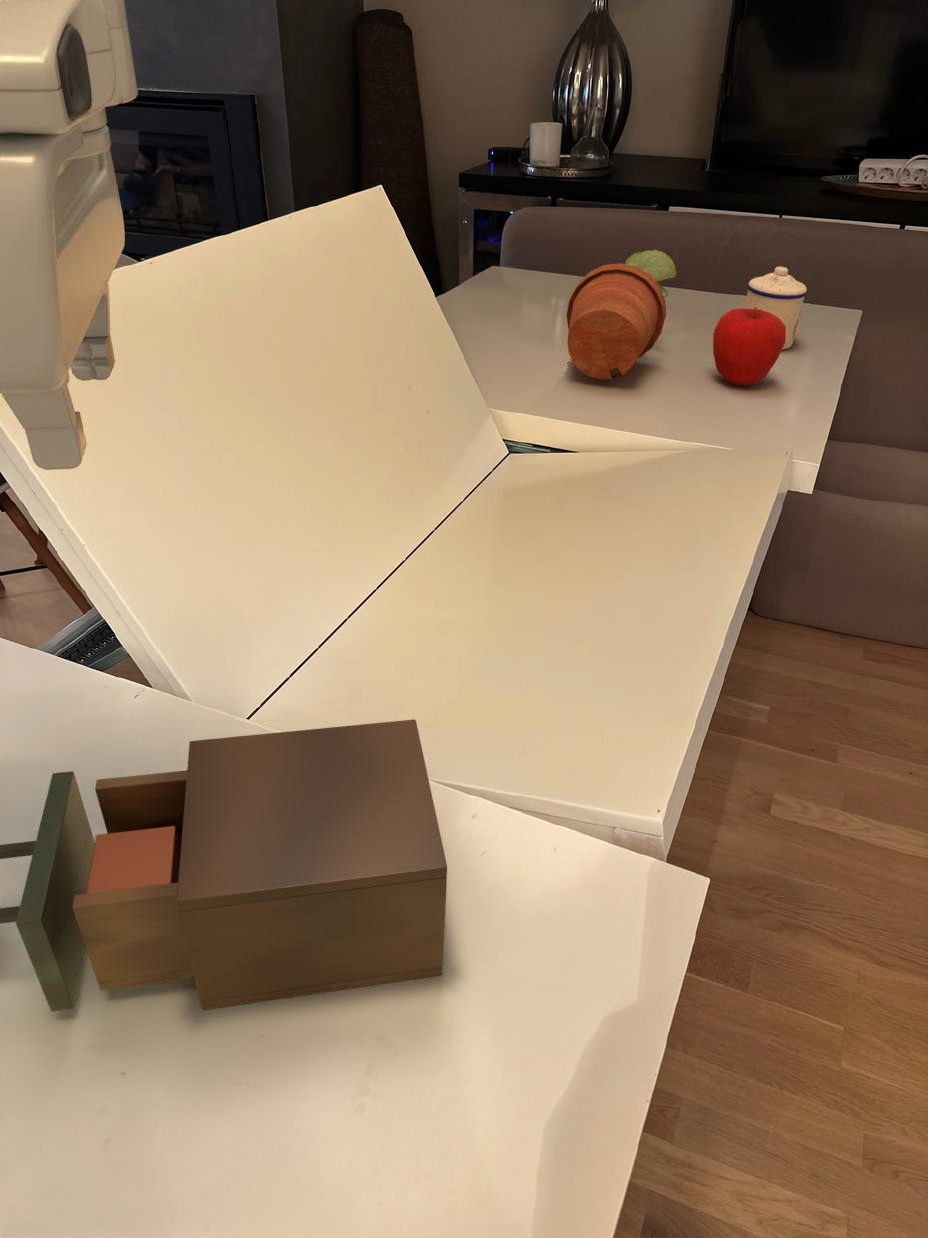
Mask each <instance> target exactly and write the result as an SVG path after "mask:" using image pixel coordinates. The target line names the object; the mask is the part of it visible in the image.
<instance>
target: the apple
mask: <svg viewBox="0 0 928 1238" xmlns="http://www.w3.org/2000/svg"><path fill="white" fill-rule="evenodd" d="M712 334H713V335H712V341H713V342H712V354H713V358H714V364H715V367H716V368H715V369H716V371H717V372H718V373H719V374H720V375H721V376H722V377H723V378H724V379H725V381H727V382H728V383H730V384H732V385H736V386H743V387H745V386H752V385H755V384H757V383H758V382H761V381H763V380H764V379H765V378H766V377H767V375H768V374H769V372H770V371H771V369H772V368H773V367H774V365H775V364H776V363H777V361H778V359H779V357H780V355H781V353H782V351H783V350H782V349H783V346H784V344H785V340H786V326H785V325H784V324H783V322H782V321H781V320H780V319H779V318H778V317H776V316H775V315H773V314H771V313H769V312H766V311H763V310H758V309H756V307H755V309H744V307H743V308H733V309H730V310H729V311H727V312H726V313H724V314H723V315H722V316H720V317H719V320H718V322H717V324H716V326H715V328H714V330H713V333H712Z"/></svg>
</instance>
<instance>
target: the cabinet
mask: <svg viewBox="0 0 928 1238" xmlns="http://www.w3.org/2000/svg"><path fill="white" fill-rule="evenodd" d="M188 743H189V745H188V754H187V755H188V756H187V768H186V770H187V780H186V792H185V804H184V817H183V829H182V841H181V854H180V866H179V878H178V891H177V905H178V909H179V914H180V918H181V922H182V927H183V931H184V935H185V940H186V944H187V948H188V953H189V957H190V961H191V966H192V970H193V974H194V977H193V979H194V983H195V986H196V992H197V995H198V1001H199V1003H200V1008H201V1010H208V1009H209V1010H211V1009H215V1008H223V1007H230V1006H238V1005H244V1004H250V1003H251V1004H252V1003H257V1002H264V1001H271V1000H276V999H277V1000H278V999H285V998H291V997H298V996H305V995H306V996H307V995H313V994H320V993H325V992H332V991H339V990H344V989H345V990H346V989H353V988H359V987H366V986H367V987H368V986H372V985H373V986H374V985H381V984H386V983H393V982H400V981H407V980H414V979H423V978H428V977H435V976H441V975H443V972H444V956H445V955H444V954H445V953H444V950H445V934H446V933H445V931H446V930H445V929H446V908H447V907H446V905H447V883H448V882H447V881H448V879H447V878H448V865H447V860H446V855H445V850H444V846H443V841H442V840H443V839H442V836H441V831H440V826H439V821H438V818H437V813H436V808H435V802H434V799H433V793H432V789H431V784H430V779H429V775H428V770H427V766H426V761H425V757H424V751H423V746H422V742H421V737H420V732H419V728H418V723H417V719H415V718H414V719H403V720H394V721H383V722H382V721H381V722H373V723H363V724H353V725H352V724H351V725H343V726H342V725H341V726H332V727H322V728H321V727H319V728H310V729H300V730H291V731H290V730H289V731H281V732H279V731H278V732H270V733H260V734H259V733H258V734H249V735H240V736H239V735H238V736H229V737H219V738H208V739H198V740H197V739H196V740H190V741H189V742H188Z"/></svg>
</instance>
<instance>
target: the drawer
mask: <svg viewBox="0 0 928 1238" xmlns="http://www.w3.org/2000/svg"><path fill="white" fill-rule="evenodd" d="M186 780H187V769H185V770H177V771H168V772H167V771H166V772H160V773H159V772H157V773H147V774H138V775H129V776H127V775H126V776H117V777H110V778H109V777H107V778H99V779H96V782H95V786H94V791H95V795H96V797H97V802H98V806H99V808H100V812H101V816H102V819H103V822H104V826H105V829H106V834H109V833H118V832H126V831H135V830H143V829H152V828H161V827H169V826H175V827H176V831H177V836H178V840H179V845H180V850H181V841H182V829H183V817H184V804H185V792H186ZM46 794H47V795H46V799H45V802H44V807H43V811H42V815H41V819H40V822H39V828H38V831H37V835H36V839H35V840H29V841H21V842H12V843H5V844H4V843H3V844H0V860H3V859H4V860H5V859H12V858H22V857H29V856H31V860H30V865H29V868H28V871H27V876H26V880H25V884H24V887H23V893H22V896H21V901H20V904H19V905H15V906H7V907H0V925H1V924H9V923H15V925H16V928H17V930H18V932H19V935H20V937H21V940H22V942H23V945H24V948H25V950H26V952H27V955H28V958H29V960H30V963H31V965H32V967H33V970H34V972H35V975H36V978H37V980H38V983H39V985H40V987H41V990H42V993H43V995H44V997H45V999H46V1002H47V1004H48V1008H49V1009H50V1012H53V1013H54V1012H61V1011H68V1010H73V1009H75V1005H76V999H77V993H78V988H79V983H80V975H81V970H82V964H83V959H84V954H85V953H84V952H85V949H86V952H87V955H88V958H89V961H90V965H91V967H92V971H93V973H94V976H95V979H96V982H97V984H98V987H99V990H100V991H106V990H113V989H120V988H128V987H135V986H142V985H149V984H155V983H156V984H157V983H162V982H170V981H177V980H185V979H191V978H192V979H193V978H194V974H193V970H192V966H191V961H190V957H189V953H188V948H187V944H186V940H185V935H184V931H183V927H182V922H181V918H180V914H179V909H178V905H177V891H178V883H169V884H161V885H153V886H145V887H137V888H129V889H120V890H112V891H104V892H96V893H88V894H87V888H88V882H89V876H90V870H91V864H92V858H93V852H94V846H95V838H94V836H93V832H92V829H91V825H90V822H89V819H88V814H87V812H86V808H85V805H84V801H83V798H82V794H81V791H80V787H79V784H78V781H77V778H76V774H75V772H74V771H73V770H70V771H60V772H53V773H52V775H51V778H50V782H49V786H48V790H47V793H46Z"/></svg>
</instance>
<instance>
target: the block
mask: <svg viewBox="0 0 928 1238" xmlns="http://www.w3.org/2000/svg"><path fill="white" fill-rule="evenodd" d="M94 842H95V846H94V852H93V858H92V864H91V870H90V876H89V882H88V888H87V894H88V893H96V892H104V891H112V890H120V889H129V888H137V887H145V886H153V885H161V884H169V883H178V878H179V866H180V854H181V850H180V845H179V840H178V836H177V831H176V827H175V826H169V827H161V828H152V829H143V830H135V831H126V832H118V833H109V834H107V833H101V834H96V836H95V840H94Z"/></svg>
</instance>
